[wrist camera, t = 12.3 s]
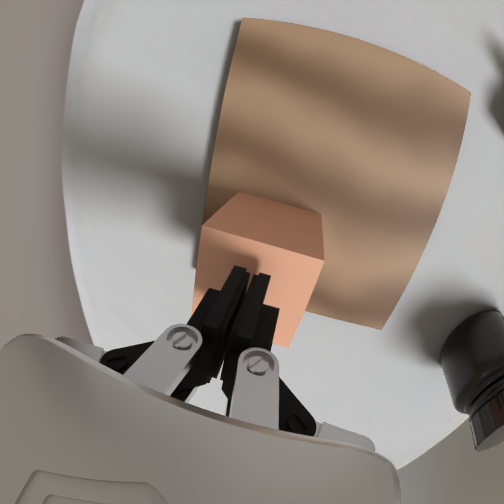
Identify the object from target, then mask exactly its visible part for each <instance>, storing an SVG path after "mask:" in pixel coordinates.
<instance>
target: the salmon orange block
mask: <svg viewBox="0 0 504 504" xmlns="http://www.w3.org/2000/svg"><path fill="white" fill-rule="evenodd" d="M324 261H325V259H324V243H323V230H322V218H321V214H318V213H315V212H312V211H308V210H305V209H301V208H298V207H294V206H291V205H287V204H284V203H280V202H277V201H273V200H269V199H266V198H262V197H258V196H254V195H251V194H247V193H243V192H238V193H237V194H236V195H235V196H234V197H232V198H231V199H230V200H229V201H228V202H227V203H226V204H225V205H224V206H223V207H221V208H220V209H219V210H218V211H217V212H216V213H215V214H214V215H213V216H212V217H211V218H210V219H208V220H207V221H206V222H205V223H204V224H203V225H202V228H201V235H200V243H199V251H198V259H197V267H196V276H195V285H194V295H193V305H192V315H193V313H194V311H195V310H196V308H197V306H198V305H199V303H200V301H201V300H202V298H203V296H204V295H205V293H206V292H207V290H208V289H209V288H212V289H216V290H219V291H221V289H222V287H223V285H224V283H225V281H226V280H227V278H228V276H229V274H230V272H231V270H232V269H233V267H234V265H236V266H240V267H243V268H246V269H247V270H246V272H249V273H250V277H249V281H248V286H247V290H248V287H249V285H250V282H251V280H252V277H253V275H254V274H256V275H259V272H260V273H264V274H267V275H271V278H270V282H269V285H268V289H267V292H266V295H265V299H264V302H263V304H266V305H269V306H273V307H276V308H280V310H279V315H278V320H277V324H276V329H275V333H274V338H273V342H272V343H273V344H277V345H280V346H284V347H288V348H289V345H290V343H291V341H292V339H293V337H294V334H295V332H296V330H297V327H298V325H299V323H300V321H301V318H302V316H303V314H304V311H305V309H306V306H307V304H308V302H309V299H310V297H311V294H312V292H313V289H314V287H315V284H316V282H317V279H318V277H319V274H320V272H321V269H322V267H323V264H324ZM247 290H246V292H247ZM245 295H246V294H245ZM192 315H191V316H192Z"/></svg>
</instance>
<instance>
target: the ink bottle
mask: <svg viewBox="0 0 504 504" xmlns="http://www.w3.org/2000/svg"><path fill="white" fill-rule="evenodd" d="M441 366H442V369H443V372H444V375H445V378H446V381H447V384H448V387H449V391H450V394H451V397H452V401H453V404H454V407H455V409H456V410H457V411H459V412H461V413H464V414H468V415H470V416H469V422H470V427H471V432H472V436H473V440H474V445H475V450H477V451H483V450H487V449H489V448H491V447H494V446H496V445H498V444H499V443H501V442H503V441H504V316H503V315H502V314H501V313H499V312H497V311H486V312H482V313H479V314H477V315H475V316H473V317H471V318H469V319H468V320H466V321H465V322H464V323H463V324H461V325H460V326H459V327H458V328H457V329H456V330H455V332H454V333H453V334H452V335H451V337H450V338H449V339H448V341H447V343H446V344H445V346H444V349H443V351H442V354H441Z"/></svg>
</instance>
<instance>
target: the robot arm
mask: <svg viewBox="0 0 504 504" xmlns="http://www.w3.org/2000/svg"><path fill="white" fill-rule="evenodd" d="M246 270H247V269H246V268H243V267H240V266H236V265H234V267H233V269H232V270H231V272H230V274H229V276H228V278H227V280H226V281H225V283H224V285H223V287H222V289H221V291H219V290H216V289H212V288H209V289H208V290H207V292H206V293H205V295H204V296H203V298H202V300H201V301H200V303H199V305H198V306H197V308H196V310H195V311H194V313H193V315H192V316H191V318H190V320H189V321H188V323H187V324H176V325H173V326H170V327H169V328H167V329H166V330H165V331H164V332H163V333H162V334H161V335H160V336H159V337H158V339H157V340H156V341H152V342H147V343H143V344H138V345H133V346H128V347H123V348H119V349H113V350H111V351H108V352H106V351H104V349H103V348H101V347H97V346H94V345H90V344H87V343H83V342H80V341H77V340H74V339H71V338H68V337H63V336H62V337H58V338H56V339H52V338H50V337H46V336H42V335H37V334H22V335H19V336H17V337H15V338H13V339H12V340H10V341H9V342H8V343H7V344H6V345H4V346H3V347H2V348H1V349H0V504H401V489H400V481H399V476H398V473H397V470H396V468H395V466H394V465H393V464H392V462H391V461H389V460H388V459H387V458H385V457H384V456H382V455H380V454H378V453H377V452H375V446H374V443H373V442H372V441H371V440H370V439H369V438H367V437H365V436H363V435H359V434H356V433H353V432H350V431H347V430H344V429H342V428H339V427H336V426H333V425H330V424H328V423H325V422H323V423H322V424H321V423H318V422H316V421H315V420H314V418H313V417H312V415H311V414H310V413H309V412H308V411H307V409H306V408H305V407H304V406H303V405H302V404H301V402H300V401H299V400H298V399H297V398H296V397H295V395H294V394H293V393H292V392H291V391H290V389H289V388H288V387H287V386H286V385H285V383H284V382H283V381H282V380H281V379H280V377H279V363H278V360H277V358H276V357H275V356H274V355H273V354H272V353H271V352H270V351H271V347H272V342H273V338H274V333H275V329H276V324H277V320H278V315H279V310H280V308H276V307H273V306H269V305H266V304H263V302H264V299H265V295H266V292H267V289H268V285H269V282H270V278H271V275H267V274H264V273H260V272H259V275H256V274H254V275H253V277H252V280H251V282H250V285H249V287H248V290H247V286H248V281H249V277H250V273H249V272H246ZM246 290H247V292H246ZM245 294H246V295H245ZM223 361H224V363H223ZM222 363H223V368H222V373H221V378H220V380H223V384H222V391H223V392H224V394H225V395H226V397H227V398H228V399H227V404H226V410H225V416H223V415H220V414H217V413H214V412H211V411H208V410H205V409H202V408H199V407H196V406H194V405H191V404H188V402H189V401H190V399H191V398H192V396H193V395H194V394H195V392H196V390H197V388H198V386H201V385H204V384H206V383H210V380H211V378H212V377H213V378H217V376H218V373H219V371H220V368H221V366H222Z"/></svg>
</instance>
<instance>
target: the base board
mask: <svg viewBox="0 0 504 504" xmlns="http://www.w3.org/2000/svg"><path fill="white" fill-rule="evenodd" d="M470 96H471V92H470V91H468V90H467V89H465V88H463V87H462V86H460V85H459V84H457V83H455V82H454V81H452V80H450V79H448V78H447V77H445V76H443V75H441V74H439V73H437V72H436V71H434V70H432V69H430V68H428V67H426V66H424V65H422V64H420V63H418V62H415V61H413V60H411V59H409V58H407V57H404V56H402V55H400V54H397V53H395V52H392V51H390V50H387V49H385V48H382V47H379V46H377V45H374V44H371V43H368V42H365V41H362V40H359V39H356V38H353V37H349V36H346V35H342V34H339V33H335V32H331V31H327V30H323V29H318V28H314V27H309V26H304V25H299V24H293V23H287V22H280V21H273V20H264V19H254V18H242V22H241V25H240V29H239V33H238V37H237V41H236V45H235V49H234V53H233V57H232V62H231V66H230V70H229V75H228V79H227V84H226V89H225V93H224V98H223V103H222V108H221V113H220V118H219V123H218V129H217V134H216V140H215V145H214V151H213V157H212V163H211V169H210V175H209V181H208V188H207V194H206V201H205V208H204V215H203V223H202V225H203V224H204V223H205V222H206V221H207V220H208V219H210V218H211V217H212V216H213V215H214V214H215V213H216V212H217V211H218V210H219V209H220V208H221V207H223V206H224V205H225V204H226V203H227V202H228V201H229V200H230V199H231V198H232V197H234V196H235V195H236V194H237V193H238V192H243V193H247V194H251V195H254V196H258V197H262V198H266V199H269V200H273V201H277V202H280V203H284V204H287V205H291V206H294V207H298V208H301V209H305V210H308V211H312V212H315V213H318V214H321V218H322V230H323V243H324V259H325V261H324V264H323V267H322V269H321V272H320V274H319V277H318V279H317V282H316V284H315V287H314V289H313V292H312V294H311V297H310V299H309V302H308V304H307V306H306V309H305V311H307V312H311V313H315V314H319V315H322V316H326V317H330V318H334V319H338V320H342V321H346V322H350V323H354V324H359V325H363V326H367V327H371V328H376V329H380V330H382V328H383V326H384V325H385V323H386V321H387V320H388V318H389V316H390V315H391V313H392V311H393V310H394V308H395V306H396V304H397V303H398V301H399V299H400V297H401V295H402V294H403V292H404V290H405V288H406V286H407V284H408V282H409V280H410V278H411V276H412V274H413V272H414V270H415V268H416V266H417V264H418V262H419V260H420V258H421V256H422V254H423V251H424V249H425V247H426V245H427V242H428V240H429V238H430V235H431V233H432V231H433V228H434V226H435V223H436V221H437V218H438V216H439V213H440V210H441V208H442V205H443V202H444V199H445V197H446V194H447V191H448V188H449V185H450V182H451V178H452V175H453V172H454V169H455V165H456V162H457V158H458V154H459V150H460V146H461V142H462V138H463V134H464V129H465V124H466V119H467V114H468V108H469V102H470Z"/></svg>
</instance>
